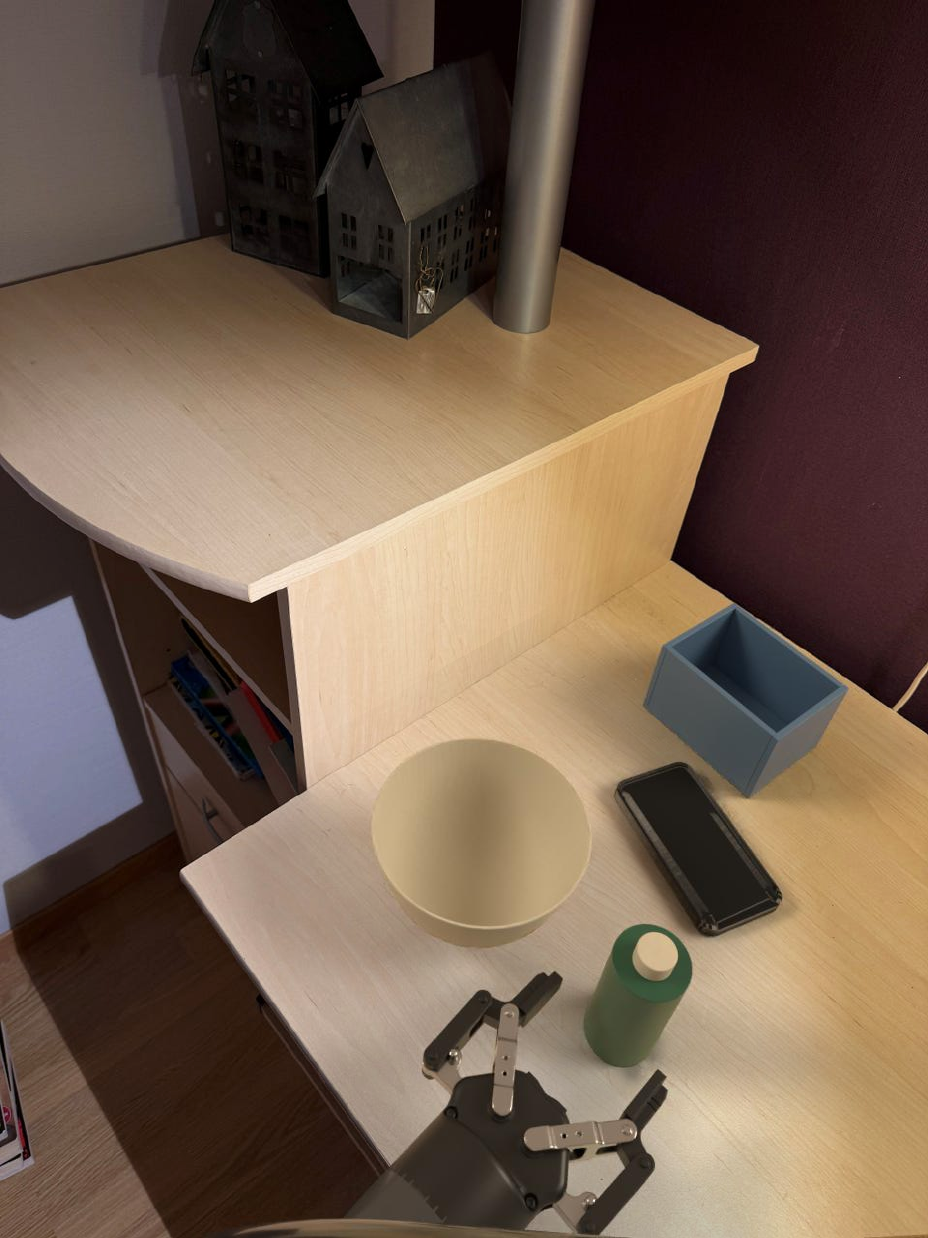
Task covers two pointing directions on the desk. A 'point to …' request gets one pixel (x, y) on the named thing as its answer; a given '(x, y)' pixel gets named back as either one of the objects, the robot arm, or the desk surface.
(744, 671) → the blue open storage bin
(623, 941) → the bottle
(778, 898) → the phone
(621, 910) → the desk surface
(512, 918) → the bowl
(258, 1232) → the robot arm
